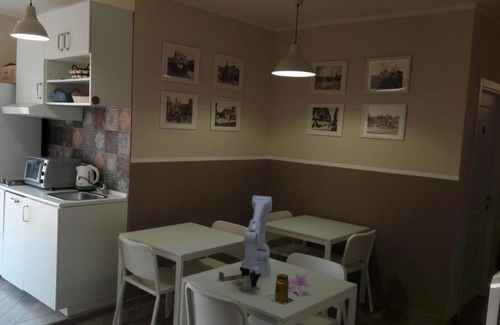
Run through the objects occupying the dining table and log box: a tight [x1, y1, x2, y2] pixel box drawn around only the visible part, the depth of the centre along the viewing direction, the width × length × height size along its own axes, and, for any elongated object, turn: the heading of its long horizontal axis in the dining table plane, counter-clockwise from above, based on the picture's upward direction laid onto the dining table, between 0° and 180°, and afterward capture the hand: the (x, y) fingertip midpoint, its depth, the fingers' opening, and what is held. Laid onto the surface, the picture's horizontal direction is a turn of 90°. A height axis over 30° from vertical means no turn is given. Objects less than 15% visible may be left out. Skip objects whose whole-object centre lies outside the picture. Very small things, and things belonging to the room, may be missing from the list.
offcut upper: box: [231, 279, 244, 286], centre depth 226 cm, size 6×4×1 cm
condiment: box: [271, 273, 295, 305], centre depth 210 cm, size 7×8×12 cm
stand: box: [238, 284, 261, 294], centre depth 217 cm, size 12×8×2 cm, turn 120°
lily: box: [288, 271, 312, 298], centre depth 221 cm, size 12×12×10 cm
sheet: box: [242, 275, 255, 290], centre depth 217 cm, size 6×1×8 cm, turn 121°
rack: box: [218, 271, 243, 282], centre depth 229 cm, size 14×14×6 cm
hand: (249, 284), depth 217 cm, fingers open, 7 cm apart
